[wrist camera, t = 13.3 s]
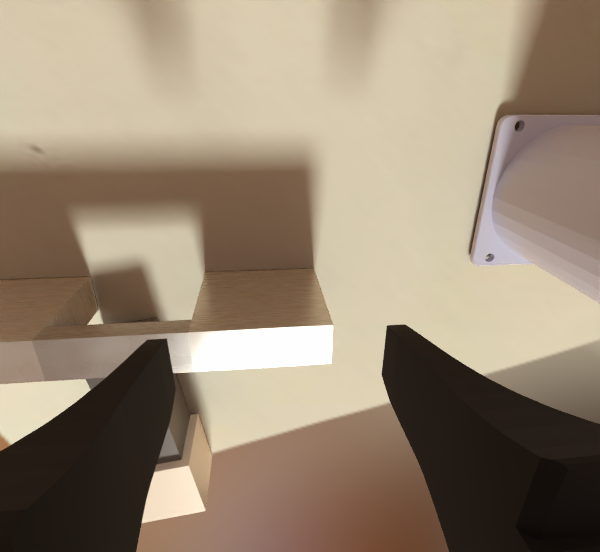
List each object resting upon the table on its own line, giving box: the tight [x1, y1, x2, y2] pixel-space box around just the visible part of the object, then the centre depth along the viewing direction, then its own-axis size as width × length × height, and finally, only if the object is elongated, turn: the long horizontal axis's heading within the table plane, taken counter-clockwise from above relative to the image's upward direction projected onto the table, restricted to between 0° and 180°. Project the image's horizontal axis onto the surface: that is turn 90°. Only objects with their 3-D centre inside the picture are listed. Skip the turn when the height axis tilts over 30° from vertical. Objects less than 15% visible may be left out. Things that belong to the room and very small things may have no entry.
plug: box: [86, 318, 212, 523], centre depth 23 cm, size 4×12×4 cm, turn 8°
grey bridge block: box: [0, 268, 333, 384], centre depth 19 cm, size 18×2×6 cm, turn 90°
